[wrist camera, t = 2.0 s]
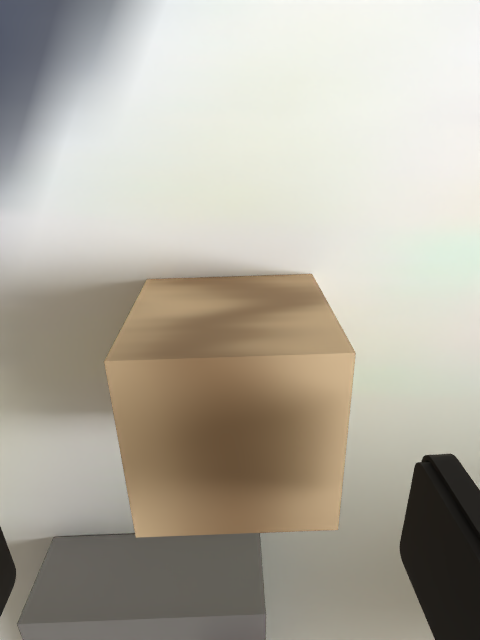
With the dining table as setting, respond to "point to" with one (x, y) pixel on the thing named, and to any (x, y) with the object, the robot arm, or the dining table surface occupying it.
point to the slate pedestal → (148, 589)
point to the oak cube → (232, 406)
